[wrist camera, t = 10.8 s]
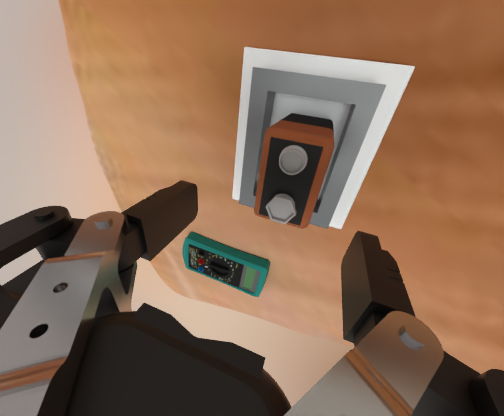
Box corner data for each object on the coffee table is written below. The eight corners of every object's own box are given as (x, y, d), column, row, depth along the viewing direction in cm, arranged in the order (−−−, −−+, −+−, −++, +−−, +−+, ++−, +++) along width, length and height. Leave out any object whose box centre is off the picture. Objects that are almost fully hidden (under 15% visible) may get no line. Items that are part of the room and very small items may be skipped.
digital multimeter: (190, 228, 35) (179, 238, 33) (272, 259, 32) (267, 272, 30) (190, 257, 39) (180, 268, 37) (263, 287, 36) (258, 301, 34)
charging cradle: (248, 48, 19) (231, 40, 16) (410, 67, 17) (430, 62, 13) (235, 194, 28) (222, 209, 25) (340, 223, 25) (342, 245, 22)
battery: (276, 176, 24) (247, 222, 15) (288, 111, 20) (259, 128, 12) (314, 184, 23) (305, 239, 14) (335, 119, 19) (338, 143, 11)
